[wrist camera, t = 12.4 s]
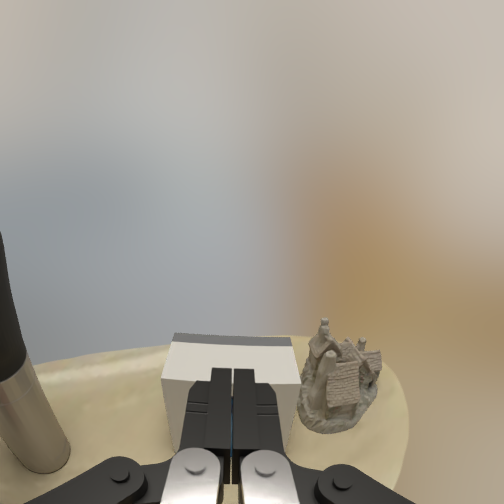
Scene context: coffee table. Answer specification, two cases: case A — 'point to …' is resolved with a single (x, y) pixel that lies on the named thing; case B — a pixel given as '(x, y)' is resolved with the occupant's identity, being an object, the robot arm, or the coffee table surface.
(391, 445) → the coffee table surface
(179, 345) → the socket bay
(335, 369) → the ceramic cottage
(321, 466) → the coffee table surface
